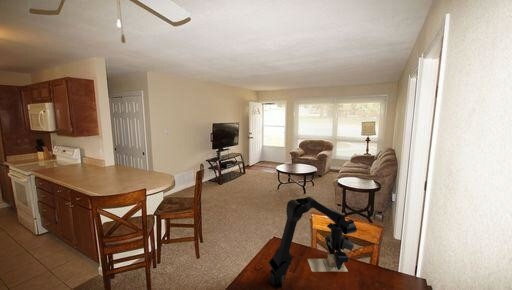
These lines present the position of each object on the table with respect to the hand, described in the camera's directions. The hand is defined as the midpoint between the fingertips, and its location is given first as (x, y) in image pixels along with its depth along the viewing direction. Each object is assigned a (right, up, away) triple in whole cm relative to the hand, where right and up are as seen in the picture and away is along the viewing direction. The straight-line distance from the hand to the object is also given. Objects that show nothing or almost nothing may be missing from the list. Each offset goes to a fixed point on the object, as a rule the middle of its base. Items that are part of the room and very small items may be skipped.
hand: (335, 263), depth 114 cm
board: (-4, -2, 0) cm, 5 cm away
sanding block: (0, -1, 0) cm, 1 cm away
